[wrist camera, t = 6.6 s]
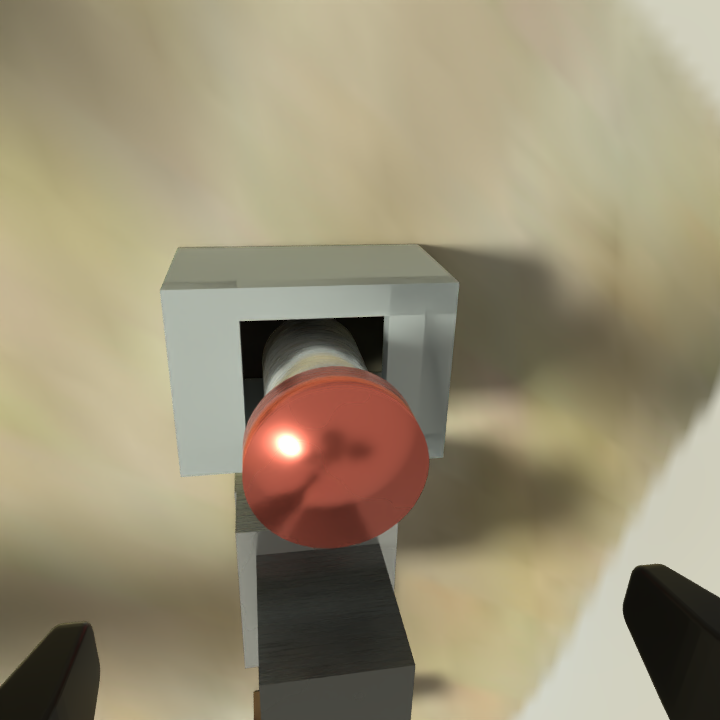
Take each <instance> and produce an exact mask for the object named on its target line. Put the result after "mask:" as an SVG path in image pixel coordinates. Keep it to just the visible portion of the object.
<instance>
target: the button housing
mask: <svg viewBox="0 0 720 720" xmlns="http://www.w3.org/2000/svg"><path fill="white" fill-rule="evenodd" d="M458 293H459V282H458V281H457V280H456V279H455V278H454V277H453V276H452V275H451V274H450V273H449V272H448V271H446V270H445V269H444V268H443V267H442V266H441V265H440V264H439V263H438V262H437V261H436V260H434V259H433V258H432V257H431V256H430V255H429V254H428V253H427V252H426V251H425V250H424V249H422V248H421V247H420V246H419V245H418V244H398V245H332V246H266V247H201V248H177V251H176V253H175V256H174V258H173V260H172V263H171V265H170V268H169V270H168V272H167V275H166V277H165V280H164V282H163V284H162V287H161V289H160V294H161V303H162V312H163V321H164V330H165V339H166V348H167V357H168V366H169V375H170V384H171V393H172V402H173V411H174V420H175V429H176V438H177V447H178V456H179V465H180V474H181V477H188V476H201V475H215V474H228V473H242V454H243V437H244V432H245V429H246V425H247V422H248V420H249V418H250V416H251V414H252V412H253V411H254V409H255V408H256V406H257V405H258V403H259V402H260V401H261V400H262V399H263V398H264V384H263V378H251V379H243V366H242V349H241V332H240V321H257V320H286V319H315V318H344V317H372V316H384V332H383V355H382V372H371V373H373V374H375V375H377V376H379V377H381V378H383V379H384V380H386V381H387V382H389V383H390V384H391V385H392V386H394V387H395V388H396V389H397V390H398V391H399V392H400V393H401V394H402V396H403V397H404V399H405V400H406V401H407V403H408V405H409V407H410V409H411V411H412V413H413V415H414V417H415V419H416V421H417V422H418V424H419V426H420V428H421V430H422V432H423V434H424V436H425V440H426V443H427V446H428V452H429V458H443V453H444V442H445V432H446V421H447V410H448V400H449V389H450V378H451V367H452V357H453V346H454V335H455V325H456V314H457V303H458Z"/></svg>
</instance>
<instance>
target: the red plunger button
mask: <svg viewBox="0 0 720 720" xmlns="http://www.w3.org/2000/svg"><path fill="white" fill-rule="evenodd" d="M262 367H263V384H264V398H263V399H262V400H261V401H260V402H259V403H258V405H257V406H256V408H255V409H254V411H253V412H252V414H251V416H250V418H249V420H248V422H247V425H246V429H245V432H244V437H243V454H242V482H243V489H244V493H245V497H246V500H247V502H248V504H249V506H250V508H251V510H252V512H253V513H254V515H255V516H256V517H257V519H258V520H259V521H260V522H261V523H262V524H263V525H264V526H265V527H266V528H267V529H269V530H270V531H271V532H273V533H274V534H276V535H277V536H279V537H281V538H283V539H285V540H287V541H290V542H292V543H295V544H299V545H302V546H307V547H313V548H340V547H347V546H351V545H355V544H359V543H362V542H365V541H368V540H370V539H372V538H374V537H376V536H379V535H381V534H382V533H384V532H385V531H387V530H389V529H390V528H392V527H393V526H394V525H395V524H397V523H398V522H399V521H400V520H401V519H402V518H403V517H404V516H405V515H406V514H407V513H408V512H409V511H410V510H411V509H412V507H413V506H414V505H415V503H416V502H417V500H418V498H419V497H420V495H421V493H422V491H423V488H424V486H425V483H426V480H427V476H428V470H429V452H428V446H427V443H426V440H425V436H424V434H423V432H422V430H421V428H420V426H419V424H418V422H417V421H416V419H415V417H414V415H413V413H412V411H411V409H410V407H409V405H408V403H407V401H406V400H405V399H404V397H403V396H402V394H401V393H400V392H399V391H398V390H397V389H396V388H395V387H394V386H392V385H391V384H390V383H389V382H387V381H386V380H384V379H383V378H381V377H379V376H377V375H375V374H373V373H370V372H368V370H367V368H366V366H365V363H364V361H363V359H362V356H361V354H360V352H359V349H358V347H357V345H356V342H355V340H354V338H353V336H352V335H351V333H350V332H349V331H348V330H347V329H346V328H345V327H344V326H343V325H342V324H341V323H339V322H337V321H336V320H334V319H332V318H315V319H290V320H288V321H286V322H284V323H283V324H282V325H280V326H279V327H278V328H277V329H275V331H274V332H273V333H272V334H271V335H270V337H269V338H268V340H267V342H266V344H265V347H264V350H263V356H262Z"/></svg>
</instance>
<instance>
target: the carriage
mask: <svg viewBox="0 0 720 720" xmlns="http://www.w3.org/2000/svg"><path fill="white" fill-rule="evenodd" d="M235 505H236V547H237V561H238V575H239V589H240V603H241V617H242V631H243V645H244V659H245V668H252V667H259V692H260V709H261V720H411V709H412V697H413V686H414V674H415V663H414V659H413V656H412V652H411V649H410V646H409V642H408V639H407V635H406V632H405V629H404V625H403V622H402V618H401V615H400V612H399V608H398V605H397V601H396V598H395V595H394V581H395V565H396V549H397V533H398V523H397V524H395V525H394V526H393V527H392V528H390V529H389V530H387V531H385V532H384V533H382V534H381V535H379V536H376V537H374V538H372V539H370V540H368V541H365V542H362V543H359V544H355V545H351V546H347V547H340V548H313V547H307V546H302V545H299V544H295V543H292V542H290V541H287V540H285V539H283V538H281V537H279V536H277V535H276V534H274V533H273V532H271V531H270V530H269V529H267V528H266V527H265V526H264V525H263V524H262V523H261V522H260V521H259V520H258V519H257V517H256V516H255V515H254V513H253V512H252V510H251V508H250V506H249V504H248V502H247V500H246V497H245V493H244V489H243V482H242V473H235Z"/></svg>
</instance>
